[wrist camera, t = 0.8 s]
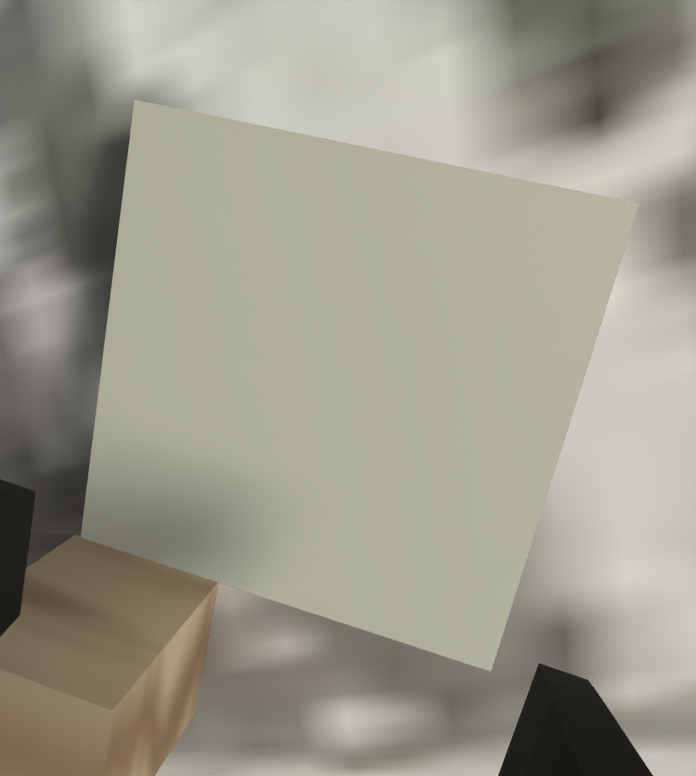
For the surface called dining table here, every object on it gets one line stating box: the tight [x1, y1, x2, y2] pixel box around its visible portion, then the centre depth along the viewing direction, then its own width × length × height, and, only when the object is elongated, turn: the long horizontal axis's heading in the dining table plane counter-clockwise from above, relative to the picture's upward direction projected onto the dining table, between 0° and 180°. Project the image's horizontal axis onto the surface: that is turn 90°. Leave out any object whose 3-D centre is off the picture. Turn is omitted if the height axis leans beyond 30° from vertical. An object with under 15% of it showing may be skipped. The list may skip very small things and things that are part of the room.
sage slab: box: [81, 100, 639, 671], centre depth 17 cm, size 11×11×3 cm
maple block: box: [0, 535, 219, 776], centre depth 19 cm, size 5×5×6 cm
